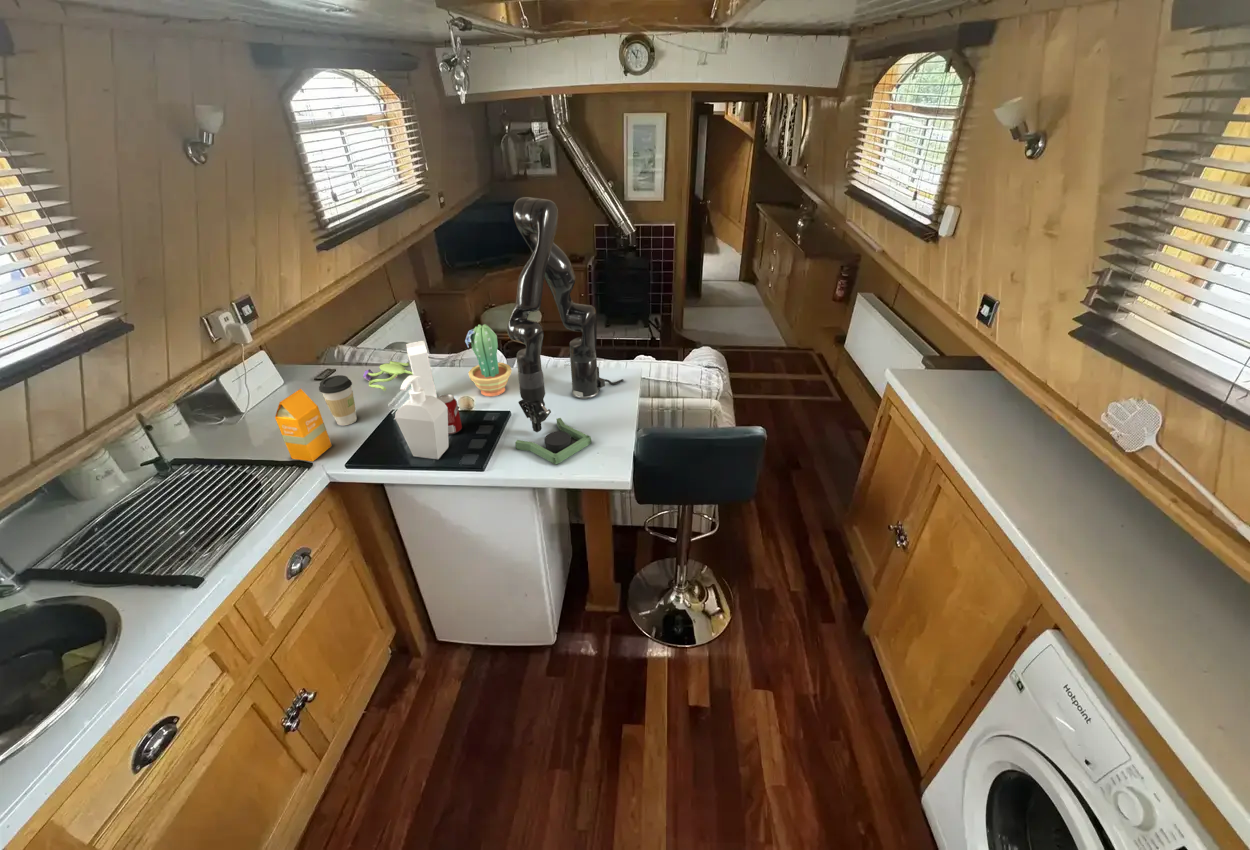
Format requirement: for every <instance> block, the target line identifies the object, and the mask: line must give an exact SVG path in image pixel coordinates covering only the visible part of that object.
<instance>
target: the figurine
mask: <svg viewBox="0 0 1250 850" xmlns="http://www.w3.org/2000/svg"><path fill="white" fill-rule="evenodd" d="M409 366H410V361H408V362H400V361H394V360H390V361H389V363H383V364H380V365H379V369H380V371H378V372H373V371H372V370H371V369H370V368H368V369H366V370H365V371H364V373H363V375H362V377H363V378H364V379H365V380H366V381H367V382H368V387H369V388H372V389H379V390H382V391H383V392H386V391H387V388H386V387H385V386H383V385H381V384H375V383H388V382H391V381H394V379H397V378H398V375H402V374H407V375H408V374H409V375H413V374H412V370H407V368H406V367H409ZM387 374H388V375H389V377H388V378H375V379H372V378H373V377H377V376H381V375H387Z"/></svg>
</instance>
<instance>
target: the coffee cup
mask: <svg viewBox="0 0 1250 850" xmlns="http://www.w3.org/2000/svg"><path fill="white" fill-rule="evenodd" d="M352 385H353V382H352V380H351V379H350V378H349V377H348V376H346V375H342V374H341V375H340V374H339V375H338V374H336V375H331V376H328V377H326V378H324V379H322V380H321V381H320V382H319V386H318V390H319V392H320V393H321V394H322V396H323V399H324V401H325V404H326V405H327V407H328V409H329V411H330V413H331V415H332V416H333V418H334V420H335V422H336V424H337V425H338V426H350V425H351V424H354V423H356V421H357V420H358V418H357V417H358V416H357V412H356V411H357V410H356V403H355V397H354V391H353V389H352Z"/></svg>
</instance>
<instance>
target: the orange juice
mask: <svg viewBox="0 0 1250 850" xmlns="http://www.w3.org/2000/svg"><path fill="white" fill-rule="evenodd" d="M274 419H275V421H276V423H277V426H278V429H279V431H280V433H281V436H282V439H283V442H284V444H285V447H286V449H287V451H288V453H289V456H290V458H291V459H292V460H300V461H306V462H314V461H315V460H316V459H318V458H319V457H320V456H322V454H324V453H325V452H326V451H327V450H329V449H330V448H331V447H332V442H331V440H330V436H329V434H328V431H327V427H326V424H325V422H324V419H323V417H322V414H321V410H320V409H319V405H317V404H316V403H315V402H314V400H312V399H311V398H310V396H309V395H308V394H306V392H305V391H304V390H303V388H299V389H298V390H296V391H294V392H292V394H290V395H288V396H287V397H286V398H283V399H282V400H280V401H279V403H278V406H277V409H276V412H275V416H274Z"/></svg>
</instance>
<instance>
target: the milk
mask: <svg viewBox="0 0 1250 850" xmlns="http://www.w3.org/2000/svg"><path fill="white" fill-rule="evenodd" d="M405 347H406V353H407V356H408V362H409V366H410V369H411V372H412V374H413V375H416V376H423V378H419V379H417V380H418V384H419V387H420V388H423V389H424V393H425V395H429V396H433V397H435V398H437V397H438V395H437V390H436V386H435V382H434V381H435V380H434V376H433V371H432V367H431V363H430V357H429V354H428V350H427V346H426V342H425V340H419V341H413V342H409V343H406V344H405Z"/></svg>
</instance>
